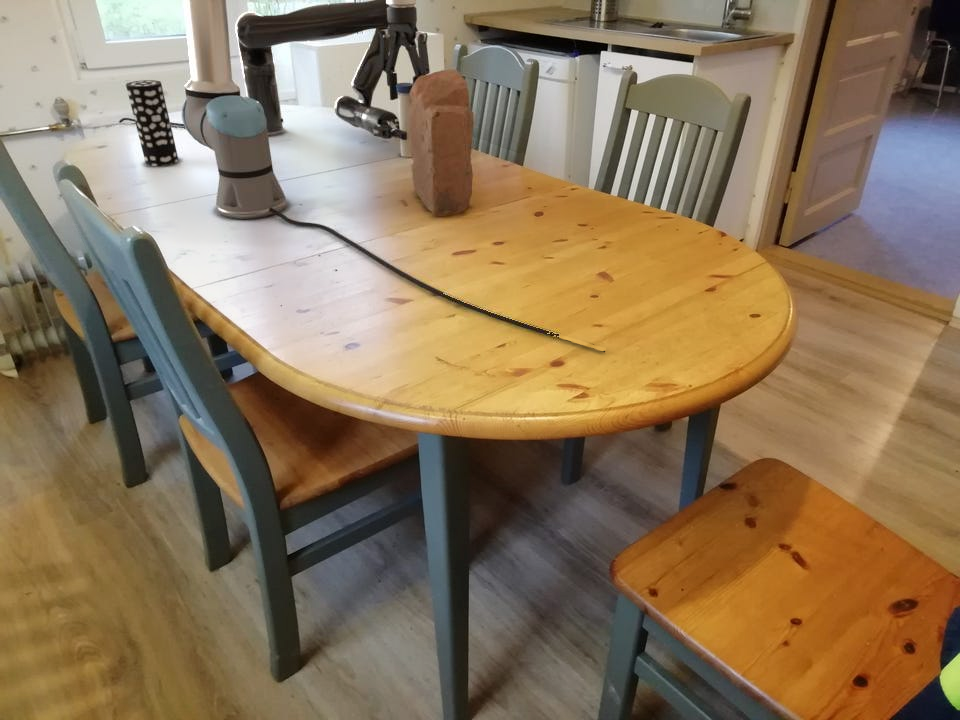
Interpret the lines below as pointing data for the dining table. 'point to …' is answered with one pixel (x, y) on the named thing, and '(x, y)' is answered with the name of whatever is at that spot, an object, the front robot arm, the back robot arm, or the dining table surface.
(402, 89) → the lid
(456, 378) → the dining table surface
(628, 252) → the dining table surface
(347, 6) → the back robot arm
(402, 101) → the white cylinder
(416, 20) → the front robot arm
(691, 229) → the dining table surface
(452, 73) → the stone
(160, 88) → the black spotted cylinder
